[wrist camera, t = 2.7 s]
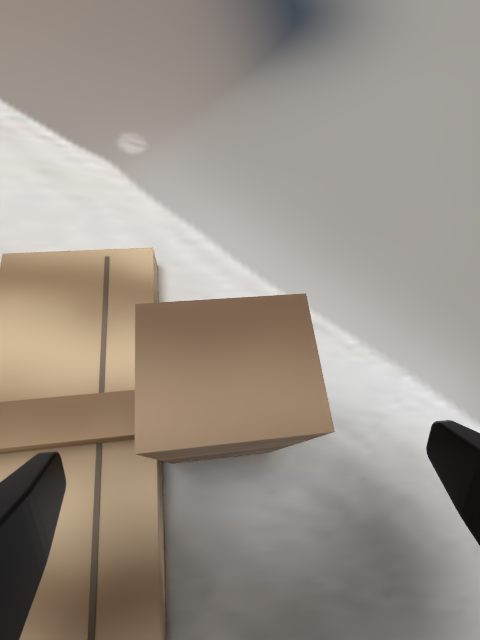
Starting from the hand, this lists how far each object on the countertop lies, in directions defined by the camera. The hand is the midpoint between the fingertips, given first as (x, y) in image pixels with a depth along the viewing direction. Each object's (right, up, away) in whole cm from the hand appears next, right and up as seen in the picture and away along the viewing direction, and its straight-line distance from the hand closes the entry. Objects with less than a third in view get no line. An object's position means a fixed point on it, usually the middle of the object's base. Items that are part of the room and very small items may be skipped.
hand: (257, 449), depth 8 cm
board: (-8, -3, +9) cm, 13 cm away
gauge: (-6, -2, +10) cm, 12 cm away
